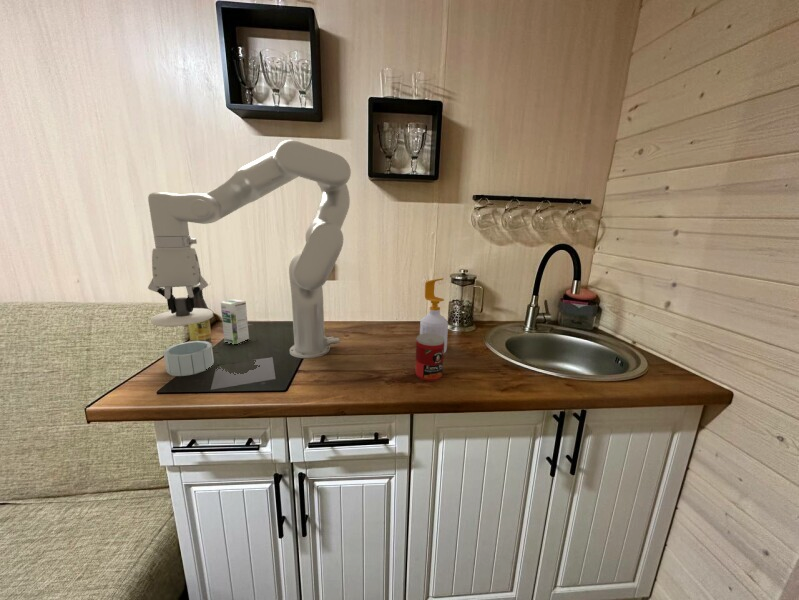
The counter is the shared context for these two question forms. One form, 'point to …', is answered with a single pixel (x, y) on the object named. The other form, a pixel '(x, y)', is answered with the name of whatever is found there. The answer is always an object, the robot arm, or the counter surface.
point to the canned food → (429, 356)
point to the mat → (245, 375)
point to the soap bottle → (434, 315)
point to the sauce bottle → (200, 329)
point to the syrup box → (234, 321)
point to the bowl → (188, 358)
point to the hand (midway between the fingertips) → (182, 310)
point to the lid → (181, 315)
